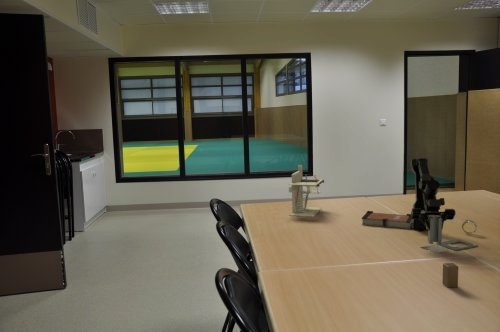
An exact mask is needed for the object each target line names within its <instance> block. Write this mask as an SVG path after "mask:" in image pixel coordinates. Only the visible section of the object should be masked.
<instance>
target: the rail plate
mask: <svg viewBox="0 0 500 332" xmlns="http://www.w3.org/2000/svg"><path fill="white" fill-rule="evenodd" d="M455 244H462V245H465V246H462V247H460V246H457V245H455ZM436 246H439V247H442V248H445V249H448V250H451V251H454V252H458V251H463V250H468V249H472V248H479V245H478V244H474V243H472V242H468V241H466V240H462V239H459V238H458V239H457V238H456V239H452V240H446V241H441V244H438V243H437V242H436Z"/></svg>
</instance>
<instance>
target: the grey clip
mask: <svg viewBox="0 0 500 332" xmlns="http://www.w3.org/2000/svg"><path fill="white" fill-rule="evenodd" d="M428 222H429V226H430V230H427V242H428V243H429V244H430V245H434V243H436V244H437V243H438V244H441V242H442V239H443V237H442V236H443V235H442V234H443V233H442V232H443V229H442V218H441V217H440V216H428Z"/></svg>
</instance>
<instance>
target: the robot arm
mask: <svg viewBox="0 0 500 332" xmlns="http://www.w3.org/2000/svg"><path fill="white" fill-rule="evenodd" d="M409 166H410V169H411V172H412V173H413V174H414V188H415V190H414V191H415V201H414V203H413V205H412V208H411V211H410V214H411V219H413V223H412V227H410V229H411V230H415V231H417V232H423V231H424V232H425V231H428V230H430V226H429V222H428V216H440V217H441V218H442V230H443V228H444V223H445V222H446V221H450V220H451V221H452V220H454V219H455V216H456V210H455V209H454V208H445V210H444V211H440V210H441V206H445V203H446V201H445V198H444V197H440V198H438V199H437V194H438V193H439V190H440V185H441V184H440V182H439V181H437V180H436V179H435V178H434V176H432V175H431V173H430V169H429V159H428V158H426V157H418V158H417V157H414V158H412V159H410V161H409Z"/></svg>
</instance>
